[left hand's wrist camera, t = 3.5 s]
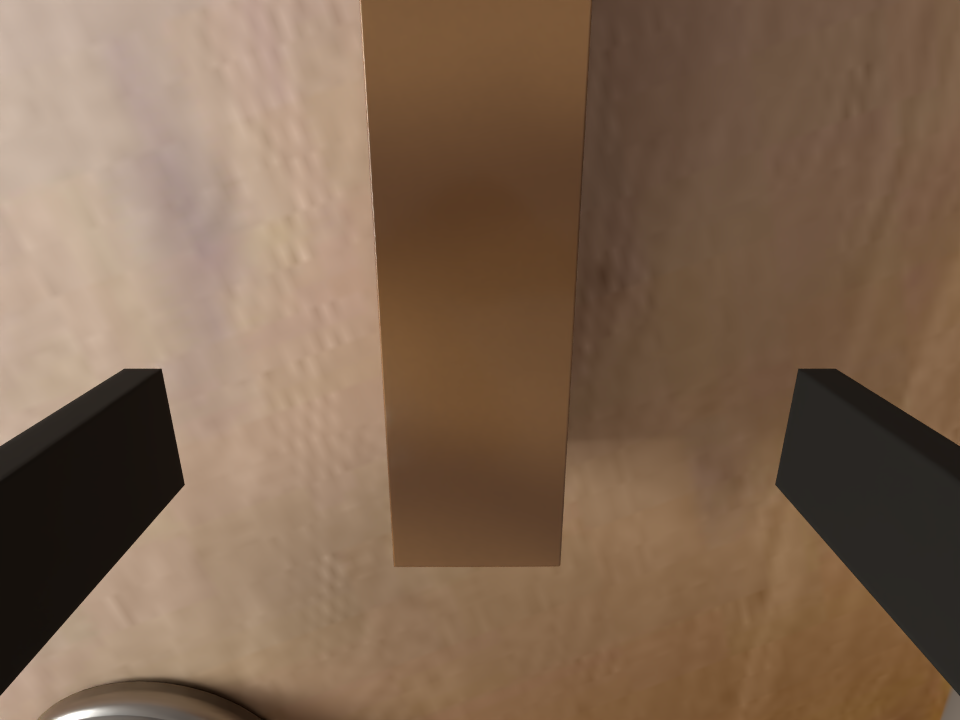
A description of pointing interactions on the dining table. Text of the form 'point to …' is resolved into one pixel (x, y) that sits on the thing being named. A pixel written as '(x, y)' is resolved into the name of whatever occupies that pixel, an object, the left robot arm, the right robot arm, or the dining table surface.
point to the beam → (476, 267)
